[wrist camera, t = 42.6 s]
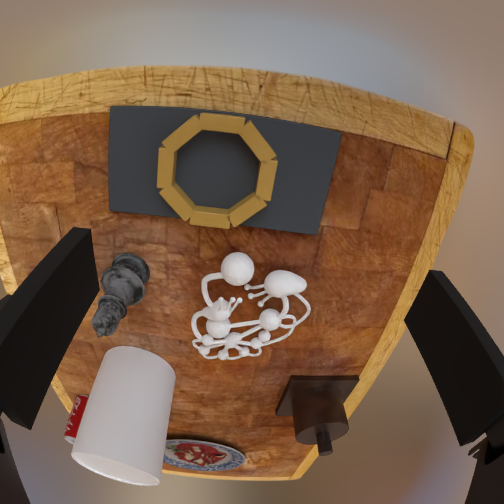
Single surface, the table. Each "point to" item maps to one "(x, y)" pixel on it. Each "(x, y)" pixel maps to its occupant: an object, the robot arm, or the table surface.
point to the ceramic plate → (201, 455)
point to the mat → (221, 166)
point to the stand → (317, 408)
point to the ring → (210, 214)
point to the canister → (127, 417)
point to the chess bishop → (119, 291)
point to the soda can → (75, 418)
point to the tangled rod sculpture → (239, 273)
